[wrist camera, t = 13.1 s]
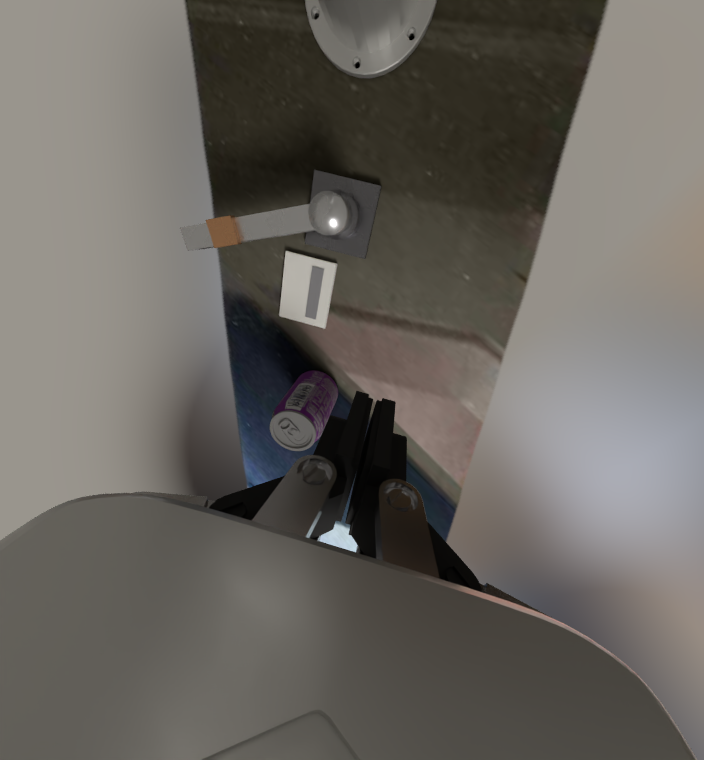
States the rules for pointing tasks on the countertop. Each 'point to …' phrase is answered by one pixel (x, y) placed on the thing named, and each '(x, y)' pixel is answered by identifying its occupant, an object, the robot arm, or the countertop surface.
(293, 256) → the label plate
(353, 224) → the pivot pedestal
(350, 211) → the grey long bar
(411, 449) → the countertop surface
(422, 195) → the countertop surface
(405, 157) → the countertop surface
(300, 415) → the beverage can
